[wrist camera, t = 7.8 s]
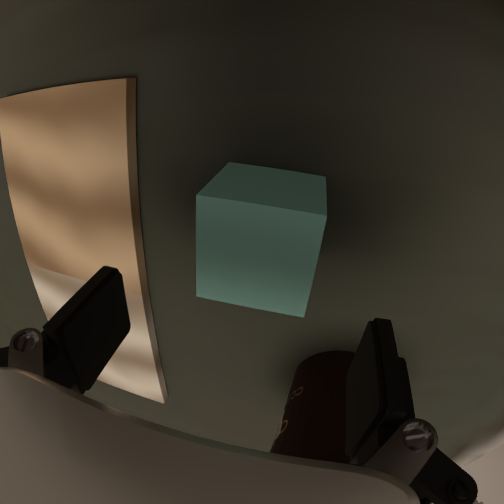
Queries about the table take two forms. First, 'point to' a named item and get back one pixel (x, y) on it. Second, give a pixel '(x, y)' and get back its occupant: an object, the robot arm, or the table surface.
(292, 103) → the table surface
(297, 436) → the coffee mug
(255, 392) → the table surface
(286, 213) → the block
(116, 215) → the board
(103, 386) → the table surface
